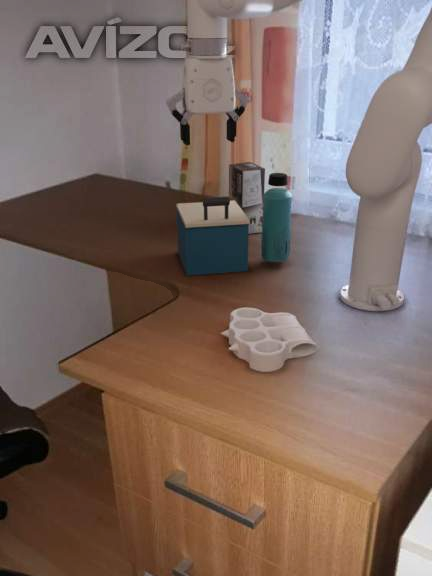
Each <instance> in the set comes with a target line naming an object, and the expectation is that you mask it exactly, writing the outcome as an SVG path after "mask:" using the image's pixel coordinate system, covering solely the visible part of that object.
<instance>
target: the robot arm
mask: <svg viewBox="0 0 432 576" xmlns="http://www.w3.org/2000/svg"><path fill="white" fill-rule="evenodd" d="M302 1H303V0H186V18H187V22H186V23H187V38H186V41H185V42H181V43H180V50H181V51H182V52H186V54H187V55H188V56H186V57H185V58H184V65H183V71H182V86H181V87H182V88H181V90H180V91H179V92H177V93H175V94H174V95H172V96H170V97H169V98H167V99H166V101H165V104H166V106H167V108H168V110H169V112H170V114H171V115H172V116H173V117H174V119H175V120H176V121H177V122H178V123H179V134H180V141H182V143H183V145H185V146H190V145H191V125H190V124H189V121H190V119H191V118H192V116H193V115H212V114H213V115H214V114H226V116H227V117H228V119H227V120H226V140H227V141H229V142H230V143H235V140H236V139H235V138H236V137H237V127H238V126H237V123H238V121H239V119H240V117H242V115H243V114H244V113H245V111H246V108H247V105H248V104H249V101H250V97H249V96H248V95H247V94H244V92H242V91H239V90H238V89H236V86H235V83H236V82H235V74H234V66H233V60H232V59H233V58H232V57H231V56H228V19H231V20H245V19H261V18H265V17H268V16H271V15H273V14H276V13H278V12H281V11H283V10H285V9H287V8H289V7H292V6H294V5H296V4H298V3H301V2H302ZM236 99H238V100H239V103H238V105H237V106H236ZM181 101H182V108H183V110H182V111H181V113H180V111H178V109H177V106H176V105H177V104H178V103H179V102H181ZM430 125H432V7H431V8H430V11H429V13H428V15H427V17H426V19H425V21H424V22H423V24H422V25H421V28H420V30H419V32H418V34H417V36H416V39H415V42H414V45H413V46H412V49H411V52H410V54H409V56H408V58H407V61H406V62H405V64H404V66H403V68H402V69H401V70H399V71H396V72H394V73H392V74H390V75H389V76H388V77H386V78H385V79H383V81H382V82H381V84H379V86H378V87H377V89H376V90H375V92H374V93H373V96H372V97H371V99H370V102H369V103H368V106H367V108H366V111H365V114H364V116H363V119H362V121H361V124H360V126H359V129H358V131H357V133H356V136H355V138H354V141H353V143H352V146H351V148H350V150H349V154H348V156H347V160H346V164H345V179H346V182H347V184H348V186H349V188H350V190H351V191H352V192H353V193H354V194H355V195H356V196H357V197H359V201H358V206H357V215H356V221H355V229H354V238H353V247H352V254H351V255H352V256H351V264H350V271H349V279H348V284H346V285H343V286H342V287H341V289H340V291H339V298H340V300H341V301H342V302H343V303H344V304H346V305H348V306H350V307H351V308H354V309H357V310H361V311H368V312H389V311H394V310H396V309H398V308H400V307H402V305H403V304H404V302H405V294H404V293H403V291H402V290H401V289H399V284H400V277H401V271H402V266H403V259H404V253H405V246H406V241H407V235H408V227H409V225H410V223H409V222H410V217H411V212H412V206H413V201H414V197H415V193H416V189H417V185H418V181H419V177H420V174H421V169H422V164H423V155H422V149H421V146H420V144H419V142H418V140H419V138H420V135H421V134H422V132H423V130H424V128H426V127H428V126H430Z"/></svg>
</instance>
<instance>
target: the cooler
mask: <svg viewBox="0 0 432 576" xmlns="http://www.w3.org/2000/svg"><path fill="white" fill-rule="evenodd" d="M176 229H177V253H178V256H179V258H180V261H181V263H182V267H183V269H184V272H185V274H186V276H199V275H211V274H227V273H239V272H248V271H249V237H250V234H249V224H240V225H223V226H207V227H191V228H186V227H185V225H184V223H183V220H182V218H181V216H180V214H179V211H178V209H177V208H176Z"/></svg>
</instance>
